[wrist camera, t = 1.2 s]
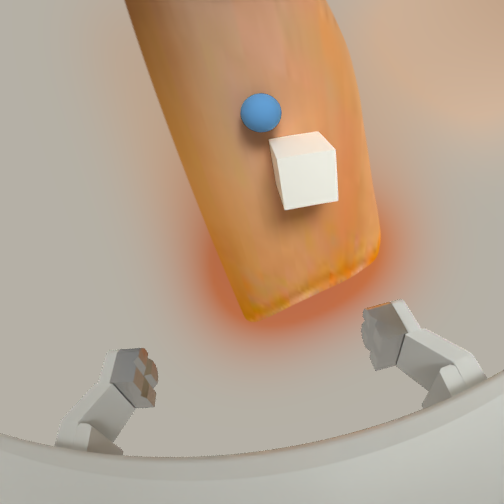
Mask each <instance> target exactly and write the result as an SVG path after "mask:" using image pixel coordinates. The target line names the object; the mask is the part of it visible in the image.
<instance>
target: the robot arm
mask: <svg viewBox="0 0 504 504" xmlns="http://www.w3.org/2000/svg"><path fill="white" fill-rule="evenodd" d="M363 318H364V320H365V321H364V322H363V324H362V329H361V332H362V339H363V342H364V345H365V347H366V348H367V349H368V350H370V351H371V352H370V359H371V362H372V364H373V366H374V369H375V371H377V370H381V369H384V368H388V367H391V366H395V365H396V367H398V368H399V369H400V370H402V371H403V372H404V373H405V374H407V375H408V376H409V377H411V378H412V379H413V380H415V381H416V382H417V383H418V384H420V385H421V386H422V387H424V388H425V389H426V390H428V391H429V392H428V394H427V396H426V398H425V400H424V401H423V403H422V407H423V409H422V410H419V411H417V412H414V413H411V414H409V415H406V416H403V417H401V418H398V419H395V420H392V421H389V422H386V423H383V424H380V425H376V426H373V427H370V428H367V429H363V430H360V431H356V432H353V433H349V434H345V435H341V436H337V437H333V438H330V439H325V440H320V441H316V442H312V443H306V444H301V445H296V446H290V447H285V448H278V449H272V450H265V451H259V452H249V453H240V454H231V455H217V456H200V457H142V456H124V455H123V451H122V449H120V448H119V447H118V446H117V445H115V444H113V442H114V440H115V439H116V438H117V436H118V435H119V433H120V432H121V430H122V429H123V427H124V425H125V424H126V423H127V421H128V420H129V418H130V417H131V415H132V414H133V412H134V411H135V408H148V407H155V399H156V392H155V390H154V389H153V388H154V387H155V386H156V384H157V383H158V371H157V368H156V365H155V364H154V362H153V361H152V360H151V359H149V358H148V353H147V351H146V350H145V349H144V348H135V349H120V350H109V351H108V352H107V354H106V357H105V360H104V364H103V367H102V370H101V374H100V378H99V381H98V384H94V385H93V386H92V387H91V389H90V390H89V391H88V392H87V393H86V394H85V395H84V396H83V397H82V398H81V399H80V400H79V401H78V402H77V404H76V405H75V406H74V407H73V408H72V409H71V410H70V411H69V412H68V413H67V414H66V415H65V417H63V419H62V420H61V422H60V426H59V430H58V434H57V438H56V442H55V446H50V445H45V444H40V443H35V442H31V441H27V440H23V439H19V438H15V437H12V436H8V435H5V434H1V433H0V504H504V370H503V371H501V372H499V373H497V374H496V375H494V376H492V377H490V378H488V379H487V377H486V375H485V374H484V372H483V370H482V369H481V367H480V365H479V364H478V362H477V360H476V359H475V357H474V355H473V354H472V353H470V352H469V351H467V350H465V349H463V348H461V347H459V346H457V345H456V344H454V343H452V342H450V341H448V340H446V339H445V338H443V337H441V336H439V335H437V334H435V333H433V332H431V331H429V330H428V329H426V328H423V329H421V327H420V326H419V324H418V322H417V321H416V319H415V318H414V316H413V314H412V313H411V311H410V309H409V308H408V306H407V305H406V303H405V302H404V300H402V299H399V300H395V301H391V302H387V303H384V304H380V305H376V306H373V307H369V308H366V309H364V311H363Z"/></svg>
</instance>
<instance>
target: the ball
mask: <svg viewBox="0 0 504 504" xmlns="http://www.w3.org/2000/svg"><path fill="white" fill-rule="evenodd" d="M241 119H242V121H243V123H244V124H245V125H246V126H247V127H248V128H249V129H251V130H253V131H255V132H267V131H270V130H272V129H273V128H274V127H276V126H277V124H278V123H279V121H280V119H281V107H280V105H279V103H278V102H277V100H276V99H275V98H273V97H272V96H270V95H268V94H263V93H259V94H254V95H252V96H250V97H248V98H247V99H246V100H245V101H244V103H243V104H242V107H241Z"/></svg>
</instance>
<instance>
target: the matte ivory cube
mask: <svg viewBox="0 0 504 504" xmlns="http://www.w3.org/2000/svg"><path fill="white" fill-rule="evenodd" d="M268 140H269V146H270V151H271V157H272V163H273V169H274V175H275V181H276V186H277V189H278V192H279V195H280V198H281V201H282V204H283V207H284V210H289V209H294V208H300V207H305V206H311V205H316V204H322V203H328V202H334V201H338V183H337V164H336V150H335V148H334V147H333V146H332V145H331V144H330V143H329V142H328V141H327V140H326V139H325V138H324V137H323V136H322V135H321V134H320V133H319V132H318V131H317V132H310V133H303V134H296V135H290V136H284V137H278V138H272V139H268Z"/></svg>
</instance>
